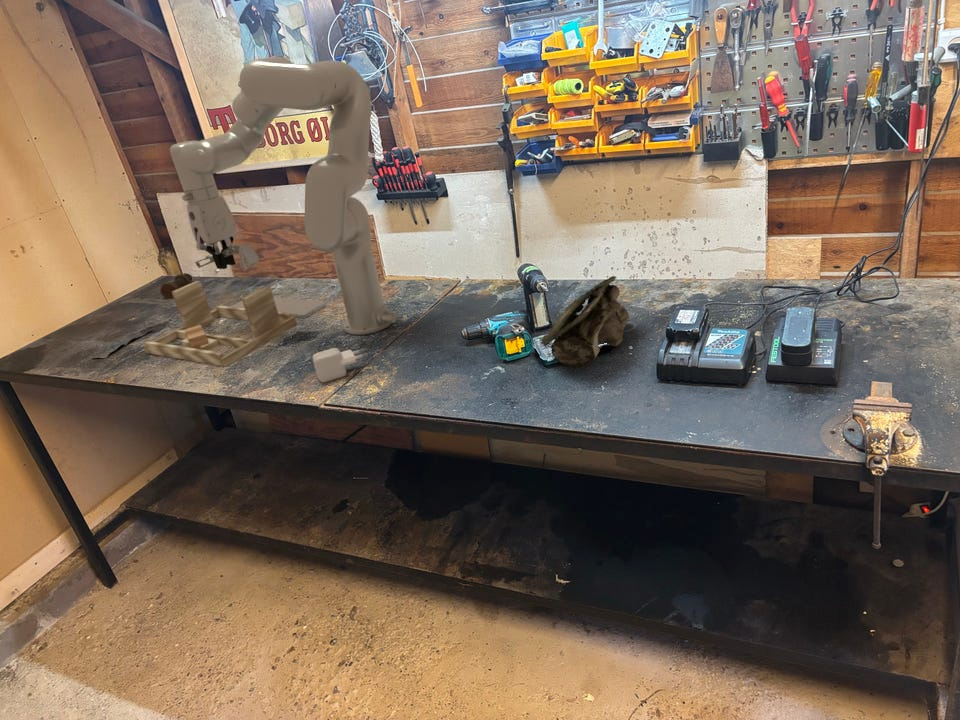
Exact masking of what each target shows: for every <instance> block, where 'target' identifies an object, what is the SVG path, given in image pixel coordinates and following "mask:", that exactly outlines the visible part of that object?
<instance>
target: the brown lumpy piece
mask: <svg viewBox="0 0 960 720" xmlns="http://www.w3.org/2000/svg"><path fill="white" fill-rule="evenodd" d="M191 281H192V282H193V276H192V274H190V273H183V274H182V273H180V274H176V275H175V278H174V280H173V281H170V282H163V283H161V287H160V294H161V295H162V296H163V297H164V299H166V300H170V299H171V300H173V299H174V297H173V294H172V291H175V290H177V289H179V288H181V287H184V286H186V285H188V284H190V283H192V282H191Z"/></svg>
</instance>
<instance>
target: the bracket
mask: <svg viewBox="0 0 960 720" xmlns="http://www.w3.org/2000/svg"><path fill="white" fill-rule="evenodd" d="M225 252H226V253H225ZM230 252H231V254H230ZM220 253H222V254H223V256H224V258H225V257H227V256H230V255H232V254H233V255H234V254H235V255H239V263H240V267H241V269H242V271H243V272H246V271H247V270H250V269H251V268H253V267H254V265H255V264H257V263H258V262H259V261H261V260H260V257H259V256H258V254H257V252H256V251H255V249H254V248H253V246H252V245H251V243H247V244H244V245H243V244H242V245H241V244H235V245H232V247H230V248H228V249H226V250H224V251H222V252H221V251H220ZM205 260H210V261H207V262H206V263H204V264H202V265H201V264H200V262H202V261H205ZM194 263H195V265H196V266H197V268H198V269H200V268H203V267H204V266H207V265H210V264H212V263H215V262H214V259H213V256H212V255H210V254H209V255H206V256H205V258H201V259H199V260H195V261H194Z"/></svg>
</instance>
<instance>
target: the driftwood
mask: <svg viewBox="0 0 960 720" xmlns="http://www.w3.org/2000/svg"><path fill="white" fill-rule="evenodd" d="M147 327H150V325H149V324H148V323H145V322H144V323H142V325H141V327H140V328H139V329H135V330H134V331H132V332H131V333H129V334H126V335H124V336H122V337H120V338H119V339H118V340H116V341H114V342H112V343H111V344H109V345H107V346H105V347H104V348H103V349H101V350H100V351H99V352H98V354H97V355H96V356H95V357H93V358H92V359H91V360H94V359H98V358H101V359H107V358H108V357H109V355H110V354H111V353H112V352H114V351H116V350H117V349H118V348H119V347H121V346H122V345H124V346H125V347H126V346H127V345H128V343H129V342H130V341H131V340H133V339H137V338H140V337H143V336H144V335H146V334H147V333H149V332H150V330H147V331H145V332H144V333H142V334H139V335H138V336H135V337H131V336H132V335H135V334H138V333H140V332H141V331H143V330H146V329H147ZM152 329H153V330H154V329H155V327H152Z"/></svg>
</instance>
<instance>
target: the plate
mask: <svg viewBox="0 0 960 720" xmlns="http://www.w3.org/2000/svg"><path fill="white" fill-rule="evenodd" d="M273 298H274V301H275V305H276V308H277V311H278V312H284V313H291V315H292V317H295V319H307V318H308V317H309V316H312V315H313V314H314V313H316V312H318V311H320V310H322V309H323V308H325V307H326V306H327V302H326V301H320V300H319V301H318V300H311V299H310V300H308V299H307V300H306V299H297V298H287V297H276V296H275V297H274V296H273ZM230 307H236V308H245V307H244V304H243V301H242V300H241V301H238V302H237V303H235V304H233V305H231V306H230Z"/></svg>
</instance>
